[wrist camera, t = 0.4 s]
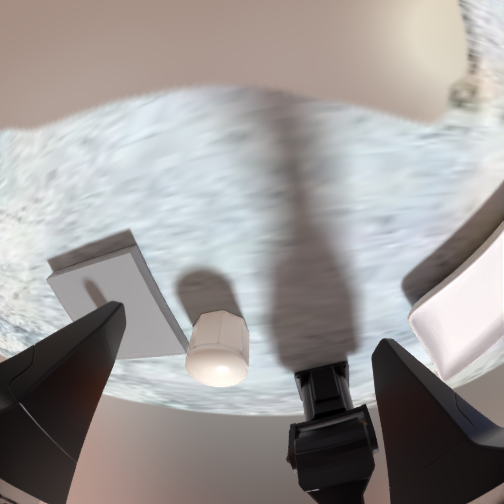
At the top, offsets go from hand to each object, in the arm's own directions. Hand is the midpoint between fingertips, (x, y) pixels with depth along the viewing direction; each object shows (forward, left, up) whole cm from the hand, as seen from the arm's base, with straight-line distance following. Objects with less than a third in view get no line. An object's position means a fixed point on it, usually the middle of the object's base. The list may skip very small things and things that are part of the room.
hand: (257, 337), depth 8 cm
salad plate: (-17, -25, -14) cm, 34 cm away
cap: (-11, +7, -13) cm, 19 cm away
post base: (-6, +17, -13) cm, 22 cm away
